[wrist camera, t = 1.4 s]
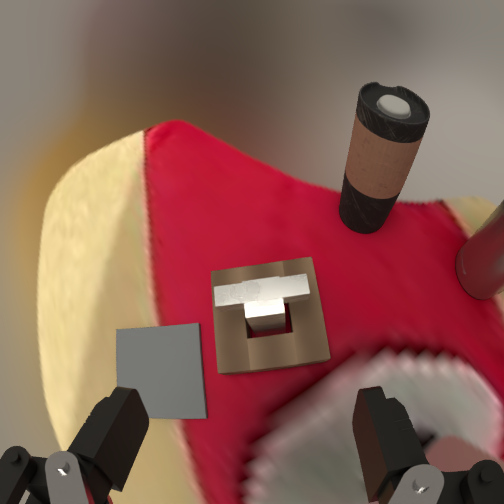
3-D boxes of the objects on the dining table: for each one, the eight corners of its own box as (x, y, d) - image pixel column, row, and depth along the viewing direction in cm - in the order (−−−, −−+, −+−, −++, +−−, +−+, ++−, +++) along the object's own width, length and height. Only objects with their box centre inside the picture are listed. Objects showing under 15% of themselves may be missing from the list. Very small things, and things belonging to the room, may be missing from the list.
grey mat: (200, 324, 36) (198, 323, 35) (207, 417, 31) (206, 418, 30) (119, 330, 37) (116, 329, 36) (122, 415, 31) (119, 415, 31)
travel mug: (363, 245, 38) (408, 135, 20) (326, 209, 41) (342, 93, 24) (395, 216, 40) (442, 110, 22) (359, 184, 43) (384, 74, 25)
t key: (299, 303, 36) (304, 264, 25) (304, 330, 34) (311, 302, 24) (235, 312, 36) (213, 277, 26) (238, 339, 35) (215, 316, 24)
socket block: (309, 269, 38) (311, 256, 34) (325, 361, 32) (330, 358, 29) (218, 283, 38) (210, 271, 35) (225, 375, 33) (218, 373, 29)
